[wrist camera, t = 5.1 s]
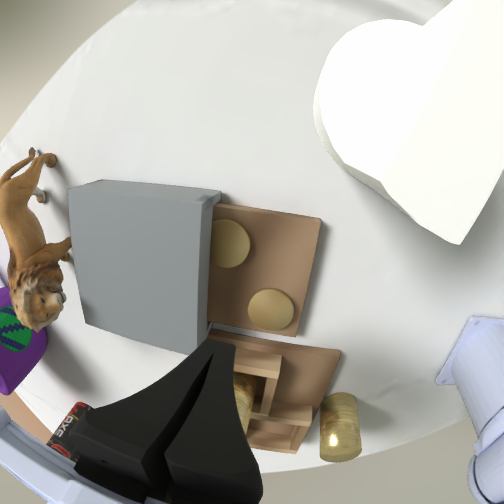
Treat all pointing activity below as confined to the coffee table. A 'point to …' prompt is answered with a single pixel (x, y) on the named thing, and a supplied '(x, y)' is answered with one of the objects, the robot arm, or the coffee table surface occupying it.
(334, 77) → the base with upright slab
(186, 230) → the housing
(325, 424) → the brass peg
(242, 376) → the placed peg
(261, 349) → the peg board
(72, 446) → the deodorant
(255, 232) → the board
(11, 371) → the mug
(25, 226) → the lion figurine
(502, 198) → the coffee table surface
